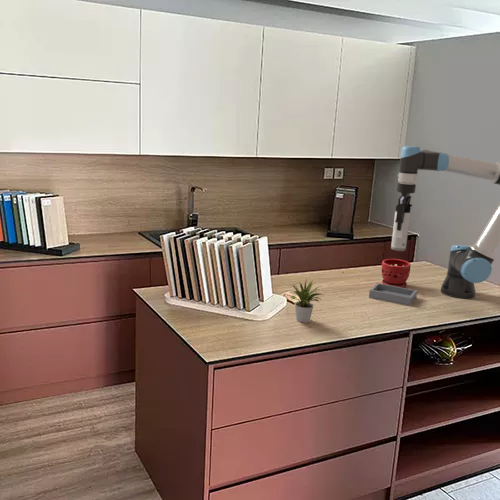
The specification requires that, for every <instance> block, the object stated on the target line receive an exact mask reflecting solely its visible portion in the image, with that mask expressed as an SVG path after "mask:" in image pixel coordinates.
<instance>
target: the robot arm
mask: <svg viewBox="0 0 500 500" xmlns="http://www.w3.org/2000/svg"><path fill="white" fill-rule="evenodd" d="M399 158H400V159H399V160H400V161H399V168H398V169H399V171H398V174H397V175H396V176H397V177H398V178H397V182H398V183H397V185H396V191H397V192H398V193H400V196H399V198H398V199H397V200H398V202H397V205H398V209H397V217H396V221H395V222H397V225H396V234H395V237H396V238H402V232H403V224H404V223H403V220H404V214H405V208H406V207H407V206H409V204H411V201H412V195H410V194H415V193H416V187H417V186H416V183H417V179H418V171H419V170H420V171H421V170H423V171H433V172H434V171H437V172H446V173H451V174H456V175H461V176H465V177H466V176H467V177H470V178H471V177H472V178H477V179H482V180H487V181H490V183H491V184H495V185H499V186H500V161H496V162H489V161H484V160H479V159H473V158H469V157H468V158H467V157H464V156H460V155H459V156H458V155H453V154H448V153H445V152H441V151H440V152H437V151H432V150H429V149H421V147H420V146H415V145H404V146H403V147H402V148H401V154H400V157H399ZM499 245H500V202H498V204H497V206H496V208H495V210H494V211H493V213H492V214H491V216H490V217H489V220H488V221H487V223H486V224H485V226H484V228H483V230H482V231H481V234H480V235H479V237H478V238H477V239H476V241H475V243H474V244H470V245H468V244H453V245H451V247H450V250H449V258H448V264H447V273H446V276H445V278H444V280H443V282H442V284H441V286H440V292H441V293H442V294H443V295H446V296H448V297H449V296H450V297H453V298H457V299H472V298H475V297H476V287H475V284H479V283H483V282H484V281H486V280H487V279H488V278H489V277H490V276H491V274H492V270H493V269H492V264H493V262H494V261H495V255H494V254H495V252H496V250H497V249H498V247H499Z"/></svg>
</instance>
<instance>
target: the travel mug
mask: <svg viewBox="0 0 500 500" xmlns="http://www.w3.org/2000/svg"><path fill="white" fill-rule="evenodd" d="M412 207H413V205H412V204H411V203H410V204H409V206H407V207H406V208H405V214H404V220H403V223H404V224H403V232H402V238H396V237H395V234H396V225H397V222H395V221H396V217H397V209H398V204H397V205H395V210H394V211H395V212H394V218H393V219H394V220H393V227H392V228H393V229H392V236H391V246H390V249H391V250H392V251H397V252H405V251H406V250H407V242H408V234H409V226H410V220H411V219H410V217H411V210H412V209H411V208H412Z"/></svg>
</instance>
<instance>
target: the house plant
mask: <svg viewBox="0 0 500 500" xmlns="http://www.w3.org/2000/svg"><path fill="white" fill-rule="evenodd" d="M307 280H308V279H307V278H306V279H305V281H304V285H303V284H302V283H301V282H300V281H299V283H298V284H299V287H300V290H299V288H298V287H297V285H296V284H297V282H296V281H295V282H294V283H293V284H291V285H290V286H291V287H292V288H294V289H295V291H294V293H295V294H296V295H297V296H298V297H296V296H295V295H291V296H290V298H289V299H291V300H297V302H295V303H294V308H295V309H294V310H295V320H296V322H300V323H309V322H310V321H311V317H312V313H313V310H314V304H313V303H312V302H313V301H316V302H318V303H320V301H321V302H322V298H320V297H317V296H325V294H322V293H317V292H318V288H320V287H322V285H319V286H316V288H314V289H313V290H311V288H312V286H313V285H315V282H314V280H311V281H310V282H309V283H308V285H307V282H308V281H307ZM295 283H296V284H295ZM310 290H311V291H310ZM319 300H320V301H319Z"/></svg>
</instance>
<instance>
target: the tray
mask: <svg viewBox="0 0 500 500" xmlns="http://www.w3.org/2000/svg"><path fill="white" fill-rule="evenodd" d="M368 293H369V294H368V295H369V296H368V298H369V299H373V300H378V301H379V300H380V301H383V302H388V303H394V304H398V305H404V306H408V307H410V306H412V304H413V303H414V302H415V300H416V299H417V297H418V295H417V294H418V290H416V289H412V288H406V287H404V288H401V287H396V286H391V285H385V284H383V283H380V282H377V283H375V284H374V286H372V288H370V289H369V292H368Z"/></svg>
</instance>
